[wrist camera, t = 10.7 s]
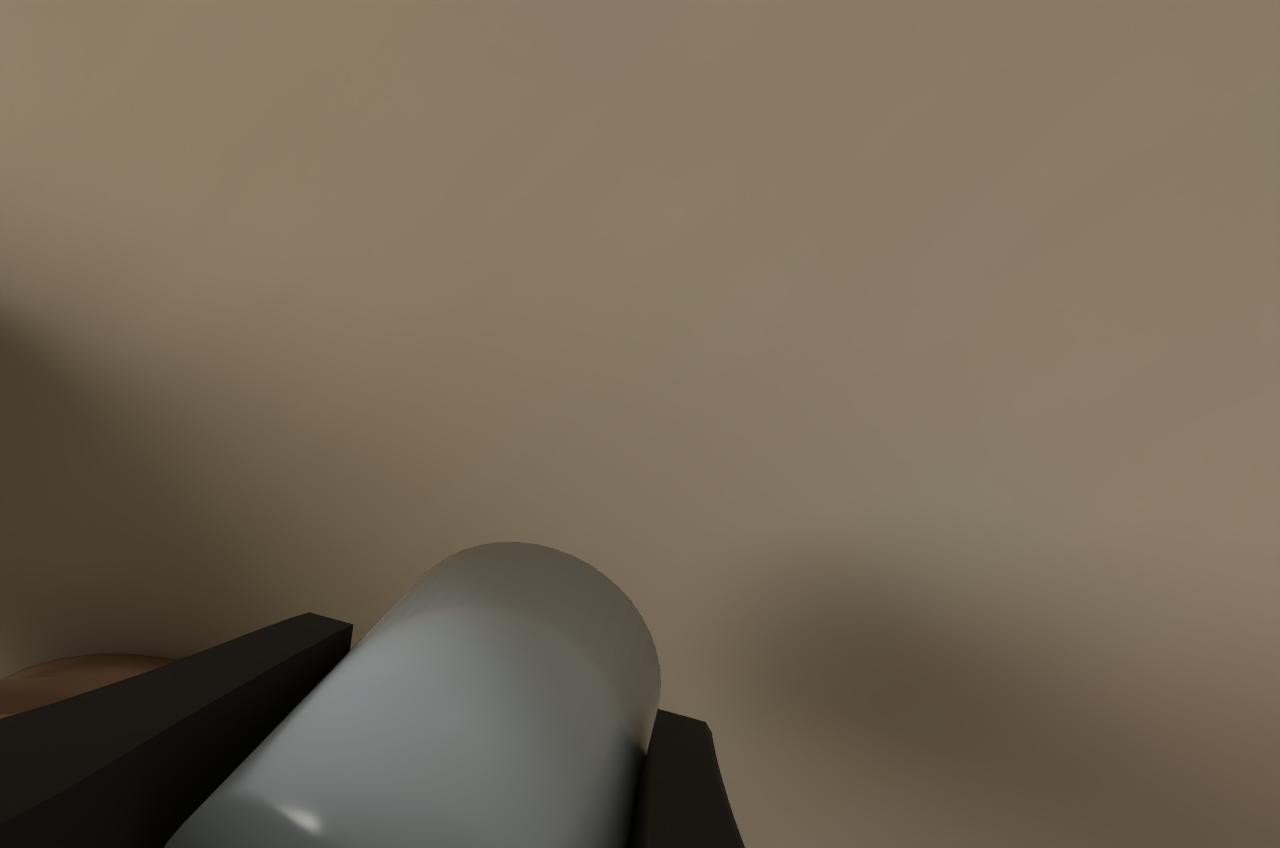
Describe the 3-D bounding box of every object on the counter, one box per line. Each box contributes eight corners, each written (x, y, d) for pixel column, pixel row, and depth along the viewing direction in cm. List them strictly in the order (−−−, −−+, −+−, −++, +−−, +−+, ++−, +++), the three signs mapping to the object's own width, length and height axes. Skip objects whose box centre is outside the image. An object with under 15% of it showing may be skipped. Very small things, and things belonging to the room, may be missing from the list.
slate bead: (438, 497, 11) (199, 699, 6) (706, 614, 11) (663, 910, 6) (358, 724, 12) (101, 1042, 8) (599, 834, 12) (495, 1232, 7)
